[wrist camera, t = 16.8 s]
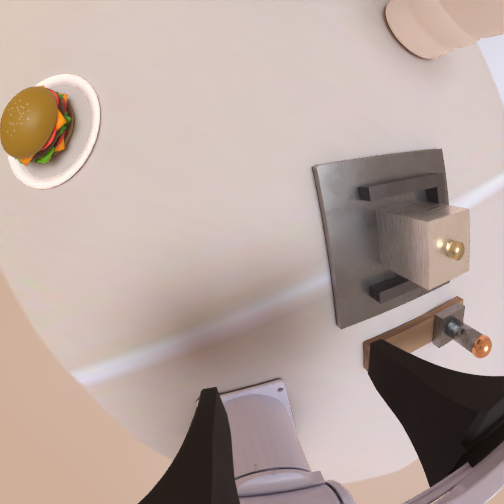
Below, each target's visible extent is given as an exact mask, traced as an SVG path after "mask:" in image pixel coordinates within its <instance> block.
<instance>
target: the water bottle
mask: <svg viewBox="0 0 504 504" xmlns="http://www.w3.org/2000/svg"><path fill="white" fill-rule="evenodd" d="M386 19H387V22H388V24H389V27H390V29H391V30H392V32H393V34H394V35H395V36H396V38H397V39H398V40H399V41H400V42H401V43H402V44H403V45H404V46H405V47H406V48H407V49H408V50H410V51H411V52H413V53H414V54H416V55H418V56H420V57H423V58H427V59H432V58H436V57H439V56H441V55H444V54H446V53H448V52H450V51H451V50H453V49H454V48H460V47H465V46H468V45H471V44H473V43H475V42H477V41H478V40H480V39H481V38H486V37H492V36H496V35H502V34H504V0H391V1H390V2H389V3H388V5H387V7H386Z"/></svg>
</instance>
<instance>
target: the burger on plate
mask: <svg viewBox="0 0 504 504" xmlns="http://www.w3.org/2000/svg"><path fill="white" fill-rule="evenodd" d="M58 85H70V86H73V87H76V88H77V89H79V90H81V91H82V93H83V94H84V95H85V96H86V98H87V100H88V102H89V105H90V108H91V118H92V121H91V130H90V133H89V137H88V140H87V142H86V145H85V147H84V149H83V151H82V152H81V154H80V156H79V157H78V158H77V160H76V161H75V162H74V163H73V164H72V165H71V166H70V167H69V168H68V169H67V170H66V171H64V172H62V173H61V174H59V175H57V176H54V177H51V178H39V177H35V176H33V175H31V174H30V173H29V172H27V171H26V170H25V168H24V167H23V166H22V164H21V163H23V164H25V165H26V166H27V165H28V163H29V162H30V161H34V162H36V163H37V162H42V163H43V164H44V163H45V162H48V161H50V160H49V159H50V158H51V157H53V156H55V155H56V154H57V153H59V152H60V151H61V150H64V149H65V147H64V146H65V145H66V143H67V142H68V140H69V138H70V135H71V133H72V129H73V124H74V117H73V111H72V109H71V106H70V104H69V103H68V102H67V96H68V95H66V94H59V93H58V92H54V91H53V90H50V89H49V88H52V87H54V86H58ZM99 124H100V105H99V101H98V98H97V95H96V93H95V91H94V89H93V87H92V86H91V85H90V84H89V83H88V82H87V81H86V80H84V79H83V78H81V77H79V76H76V75H72V74H60V75H55V76H52V77H50V78H47V79H45V80H43V81H42V82H40V83H39V84H37V85H36V86H34V87H30V88H27V89H24V90H22V91H21V92H19V93H18V94H17V95H16V96H15V97H13V98H12V100H11V101H10V102H9V103H8V105H7V106H6V108H5V110H4V112H3V115H2V118H1V123H0V139H1V143H2V146H3V148H4V150H5V151H6V152H7V155H8V160H9V163H10V166H11V168H12V170H13V172H14V174H15V175H16V176H17V178H18V179H19V180H20V181H21V182H23V183H24V184H25V185H27V186H29V187H31V188H36V189H49V188H52V187H55V186H58V185H60V184H62V183H63V182H65V181H67V180H68V179H69V178H71V177H72V176H73V175H74V174H75V173H76V172H77V171H78V170H79V169H80V168H81V166H82V165H83V164H84V163H85V161H86V159H87V158H88V156H89V154H90V153H91V151H92V148H93V146H94V144H95V141H96V138H97V134H98V131H99Z"/></svg>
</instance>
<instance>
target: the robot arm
mask: <svg viewBox="0 0 504 504" xmlns="http://www.w3.org/2000/svg"><path fill="white" fill-rule="evenodd" d="M368 375H369V377H370V378H371V380H372V382H373V384H374V386H375V388H376V390H377V391H378V392H379V394H380V395H381V397H382V398H383V399H384V401H385V402H386V403H387V405H388V406H389V407H390V409H391V410H392V411H393V413H394V414H395V415H396V417H397V418H398V420H399V421H400V423H401V424H402V426H403V427H404V429H405V431H406V433H407V435H408V436H409V438H410V440H411V442H412V444H413V446H414V448H415V450H416V452H417V455H418V457H419V459H420V462H421V464H422V466H423V469H424V472H425V474H426V477H427V480H428V483H429V486H430V488H429V489H427V490H426V491H424V492H422V493H421V494H419V495H417V496H415V497H414V498H412V499H410V500H408V501H406V502H404V503H402V504H430V503H432V502H433V501H435V500H437V499H438V498H440V497H441V496H443V495H444V494H446V493H447V492H449V493H447V494H446V495H445V496H443V497H442V498H441V499H439V500H438V501H436V502H435V503H434V504H485V503H487V502H488V501H489V500H490V499H491V498H492V497H493V496H494V495H495V494H497V493H498V492H499V491H500V490H501V489H502V488H503V487H504V376H480V375H473V374H467V373H462V372H457V371H453V370H450V369H447V368H443V367H440V366H438V365H435V364H432V363H430V362H427V361H425V360H423V359H420V358H418V357H416V356H414V355H412V354H410V353H408V352H406V351H404V350H402V349H400V348H398V347H396V346H394V345H392V344H391V343H389V342H387V341H385V340H383V339H379V340H377V341H374V342H372V343H370V354H369V367H368ZM279 388H281V389H279ZM196 406H197V409H196V412H195V415H194V418H193V420H192V423H191V426H190V428H189V431H188V433H187V435H186V437H185V440H184V442H183V444H182V446H181V448H180V450H179V452H178V454H177V455H176V457H175V459H174V460H173V462H172V464H171V465H170V467H169V468H168V470H167V471H166V473H165V474H164V475H163V477H162V478H161V479H160V481H159V482H158V483H157V484H156V485H155V487H154V488H153V489H152V490H151V491H150V492H149V494H148V495H147V496H145V498H143V499H142V500H141V501H140V502H139V503H138V504H356V503H355V501H354V499H353V497H352V495H351V494H350V492H349V491H348V490H347V489H346V488H345V487H343V486H342V485H341V484H339V483H338V482H336V481H334V480H328V481H324V479H323V476H322V474H321V472H320V471H316V472H311V469H310V467H309V465H308V462H307V460H306V457H305V455H304V452H303V450H302V447H301V445H300V443H299V440H298V438H297V434H296V430H295V426H294V421H293V417H292V413H291V408H290V404H289V400H288V395H287V391H286V387H285V383H284V381H283V380H281V379H278V380H275V381H271V382H268V383H264V384H261V385H257V386H253V387H250V388H246V389H242V390H238V391H234V392H230V393H226V394H222V395H219V393H218V390H217V387H213V388H208V389H203V390H202V391H201V394H200V398H199V400H197V402H196Z"/></svg>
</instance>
